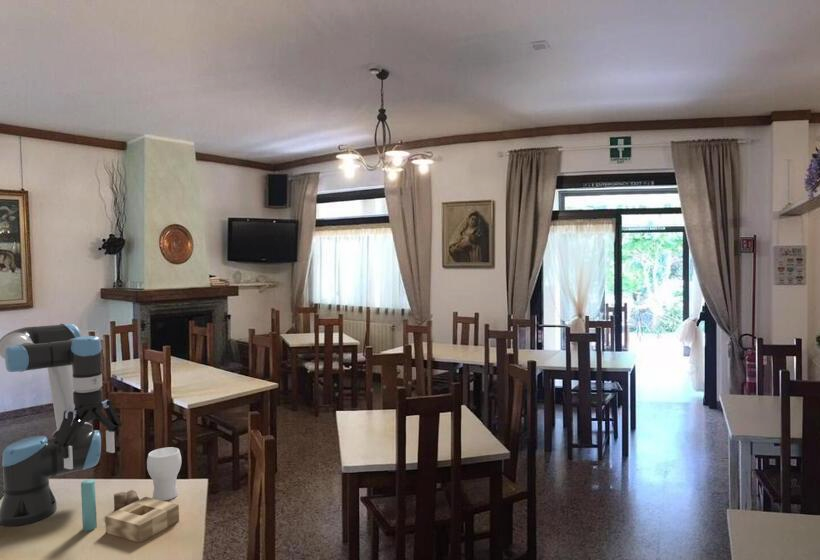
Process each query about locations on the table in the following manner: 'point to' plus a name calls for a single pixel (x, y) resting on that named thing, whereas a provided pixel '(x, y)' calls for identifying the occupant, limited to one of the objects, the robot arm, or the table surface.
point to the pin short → (120, 500)
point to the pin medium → (132, 497)
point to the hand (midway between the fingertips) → (90, 459)
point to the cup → (164, 472)
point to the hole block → (142, 519)
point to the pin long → (88, 505)
